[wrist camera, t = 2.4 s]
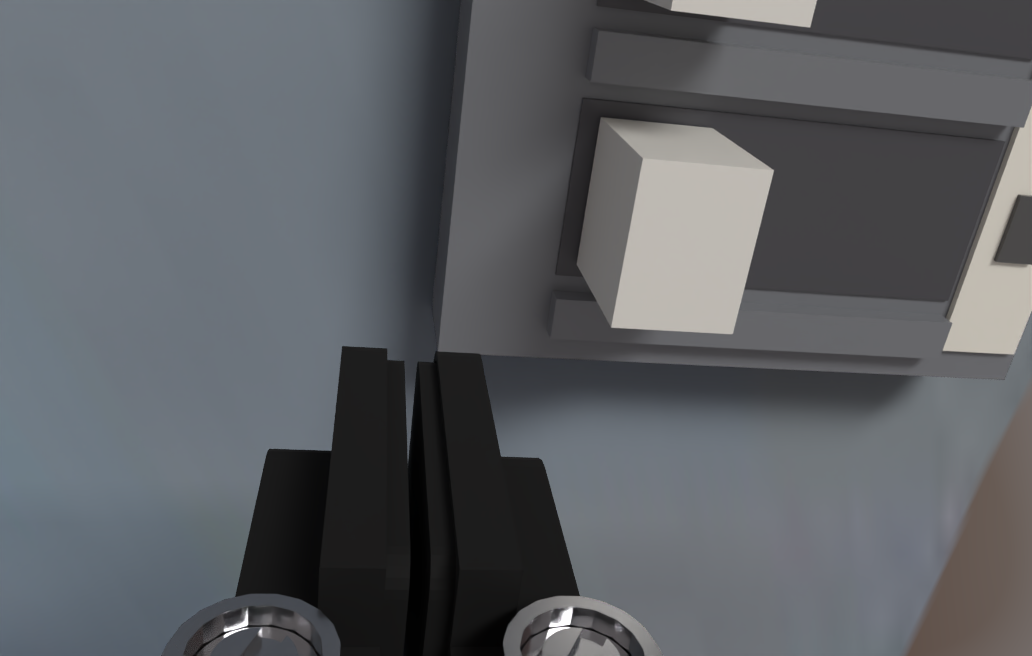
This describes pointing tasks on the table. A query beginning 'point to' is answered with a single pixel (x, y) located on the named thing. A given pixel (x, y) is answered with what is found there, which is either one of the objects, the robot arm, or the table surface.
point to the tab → (670, 225)
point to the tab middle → (748, 9)
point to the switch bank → (793, 191)
